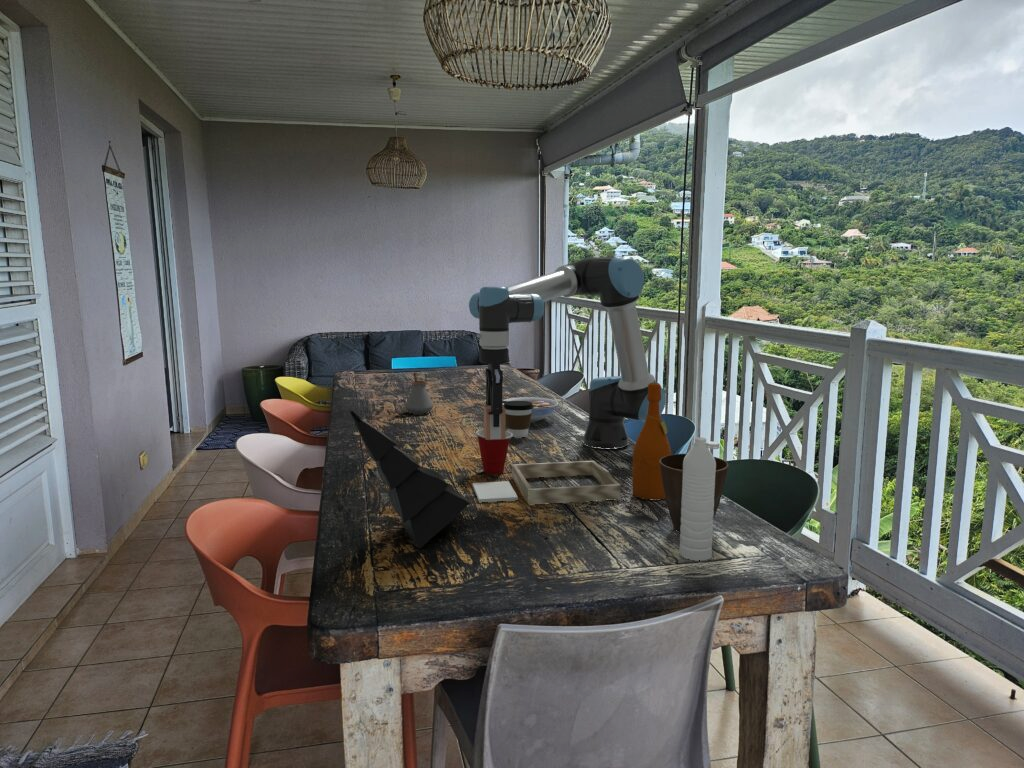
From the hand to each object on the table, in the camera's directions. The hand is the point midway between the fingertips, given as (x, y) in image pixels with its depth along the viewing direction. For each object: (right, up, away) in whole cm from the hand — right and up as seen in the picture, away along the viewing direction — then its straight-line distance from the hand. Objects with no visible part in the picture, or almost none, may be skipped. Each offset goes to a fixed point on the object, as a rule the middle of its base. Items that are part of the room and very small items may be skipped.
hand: (494, 436), depth 185 cm
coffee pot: (-35, +2, +113) cm, 118 cm away
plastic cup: (0, -12, +23) cm, 26 cm away
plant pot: (+45, -20, -24) cm, 55 cm away
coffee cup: (+7, -5, +67) cm, 67 cm away
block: (0, 0, 0) cm, 0 cm away
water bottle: (+43, -22, -39) cm, 62 cm away
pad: (0, -15, +3) cm, 16 cm away
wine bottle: (+41, -16, +1) cm, 44 cm away
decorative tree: (-18, -21, -29) cm, 39 cm away
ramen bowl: (+11, -1, +93) cm, 93 cm away
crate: (+19, -15, +7) cm, 25 cm away
